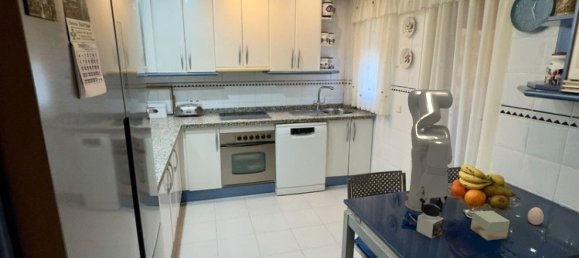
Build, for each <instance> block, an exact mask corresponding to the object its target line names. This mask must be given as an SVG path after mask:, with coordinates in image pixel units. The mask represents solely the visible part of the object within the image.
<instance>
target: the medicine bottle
mask: <svg viewBox="0 0 579 258" xmlns="http://www.w3.org/2000/svg"><path fill="white" fill-rule="evenodd" d="M427 205H428V212H427V214H425V213H423V212H422V213H421V214H419V215H418V216H417V225H416V232H418V233H420V234H421V235H423V236H426V237H428V238H429V239H434V238H436V237H437V236H440V235H442V234H443V225H444V217H442V216H441V215H440V213H441V212H440V208H439V207H438V206H437V205H436V204H434V203H430V204H427Z"/></svg>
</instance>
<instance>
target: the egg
mask: <svg viewBox="0 0 579 258" xmlns="http://www.w3.org/2000/svg"><path fill="white" fill-rule="evenodd" d="M544 218H545V215H544V212H543V210H542V209H541V208H539V207H538V206H535V207H532V208H531V209H530V210H529V211H528V212H527V220H528V221H529V222H530V224H532V225H535V226H538V225H541V223H543V222H544Z"/></svg>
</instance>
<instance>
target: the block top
mask: <svg viewBox="0 0 579 258" xmlns="http://www.w3.org/2000/svg"><path fill="white" fill-rule="evenodd" d="M472 221H473V222H475V223H476V224H477V225H479V226H480V227H482V228H483V229H485V230H486V231H488V232H492V231H505V230H508V231H509V228H510V223H511V221H510V220H509V219H507V218H506V217H503V216H502V215H500V214H498V213H497V212H496V211H494V210H484V211H483V210H482V211H473V212H472V216H471V222H472Z"/></svg>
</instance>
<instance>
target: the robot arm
mask: <svg viewBox="0 0 579 258" xmlns="http://www.w3.org/2000/svg"><path fill="white" fill-rule="evenodd" d="M453 98H454V97H453V94H452V92H451V91H449V90H446V89H424V88H423V89H414V90H413V89H412V90H411V91H410V92H409V93H408V96H407V106H408V110H409V113H410V115H411V117H412V127H411V130H410V135H411V136H410V138H411V139H410V140H411V151H410V155H411V173H410V183H409V191H408V193H406V194H405V196H406V197H407V200H405V202H404V206H405V207H406V208H408V209H409V210H411V211H414V212H418V213H422V214H423V213H425V214H427V212H428V205H427V204H431V199H436V198H437V199H436V201H435V205H437V206H438V207H439V208H440V213H443V208H444V207H443V206H444V204H445V203H446V201H447V199H448V198H449V197H450V195H451V194H452V193H451V191H450V190H449V178H448V177H449V176H448V173H447V171H448V170H449V169H450V168H449V165H450V164H451V163H452V160H453V149H452V140H451V134H450V130H449V128H448V127H447V126H445V124H444V125H443V124H437V123H439V121H440V120H441V119H442V113H441V109H450V108H451V107H452V106H453V101H454V99H453Z"/></svg>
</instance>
